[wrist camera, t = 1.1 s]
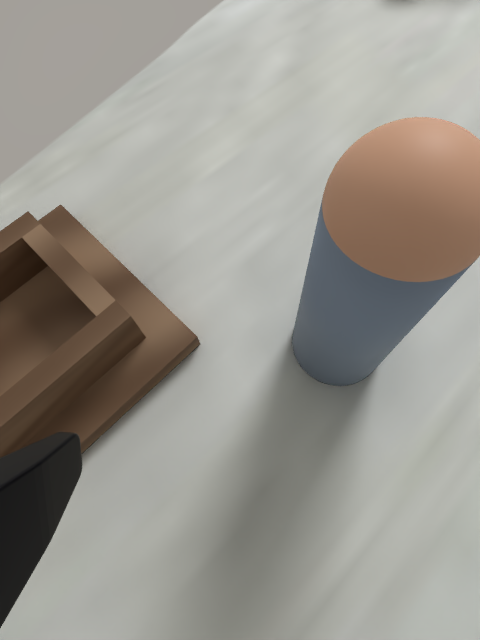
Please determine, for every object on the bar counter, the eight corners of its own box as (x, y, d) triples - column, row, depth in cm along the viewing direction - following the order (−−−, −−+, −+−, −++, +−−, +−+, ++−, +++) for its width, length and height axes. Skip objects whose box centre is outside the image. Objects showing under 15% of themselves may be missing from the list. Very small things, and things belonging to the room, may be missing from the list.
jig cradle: (200, 344, 24) (188, 315, 20) (9, 520, 21) (-49, 526, 17) (68, 216, 28) (37, 170, 24) (-110, 347, 25) (-179, 320, 21)
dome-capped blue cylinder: (399, 341, 24) (585, 140, 10) (342, 404, 22) (468, 270, 9) (331, 287, 25) (415, 49, 12) (274, 343, 24) (295, 149, 10)
